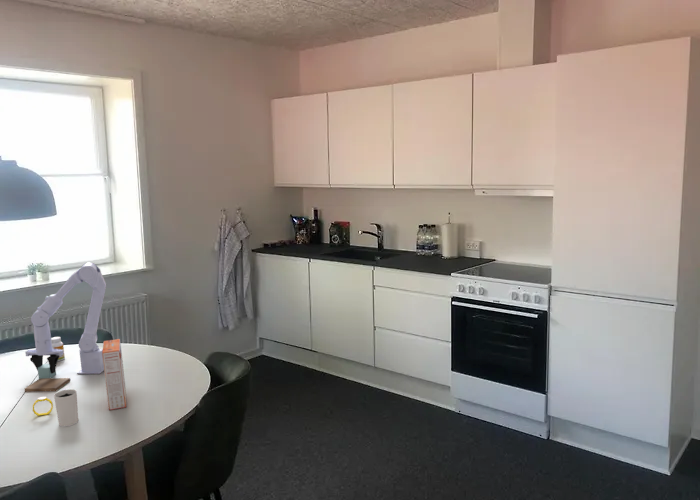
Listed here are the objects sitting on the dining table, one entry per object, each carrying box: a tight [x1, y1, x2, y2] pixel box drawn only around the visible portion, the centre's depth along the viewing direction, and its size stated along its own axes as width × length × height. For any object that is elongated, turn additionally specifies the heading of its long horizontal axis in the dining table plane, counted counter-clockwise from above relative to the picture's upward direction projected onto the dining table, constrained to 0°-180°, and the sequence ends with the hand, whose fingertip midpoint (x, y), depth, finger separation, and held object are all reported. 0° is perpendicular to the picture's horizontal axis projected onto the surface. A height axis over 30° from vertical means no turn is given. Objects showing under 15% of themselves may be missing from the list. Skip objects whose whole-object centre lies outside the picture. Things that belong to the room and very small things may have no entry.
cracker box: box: [102, 338, 127, 411], centre depth 204 cm, size 14×6×21 cm, turn 21°
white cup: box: [53, 388, 79, 427], centre depth 190 cm, size 7×7×10 cm
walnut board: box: [24, 377, 71, 393], centre depth 222 cm, size 12×10×1 cm
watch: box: [32, 396, 54, 417], centre depth 197 cm, size 6×3×6 cm, turn 115°
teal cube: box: [37, 363, 57, 379], centre depth 232 cm, size 4×4×4 cm
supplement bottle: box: [51, 336, 66, 362], centre depth 252 cm, size 5×5×10 cm
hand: (47, 372), depth 232 cm, fingers closed on teal cube, 4 cm apart
